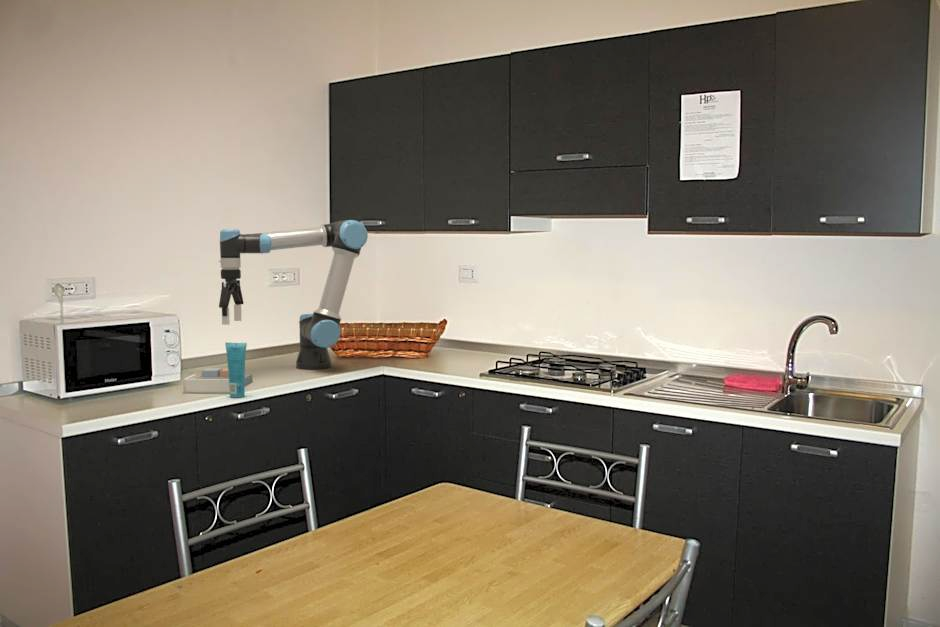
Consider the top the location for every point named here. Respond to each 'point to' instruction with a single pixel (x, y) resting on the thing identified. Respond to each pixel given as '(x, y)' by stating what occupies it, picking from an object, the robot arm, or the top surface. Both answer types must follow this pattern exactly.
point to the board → (247, 378)
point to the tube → (236, 368)
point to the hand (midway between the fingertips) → (232, 322)
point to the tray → (205, 385)
